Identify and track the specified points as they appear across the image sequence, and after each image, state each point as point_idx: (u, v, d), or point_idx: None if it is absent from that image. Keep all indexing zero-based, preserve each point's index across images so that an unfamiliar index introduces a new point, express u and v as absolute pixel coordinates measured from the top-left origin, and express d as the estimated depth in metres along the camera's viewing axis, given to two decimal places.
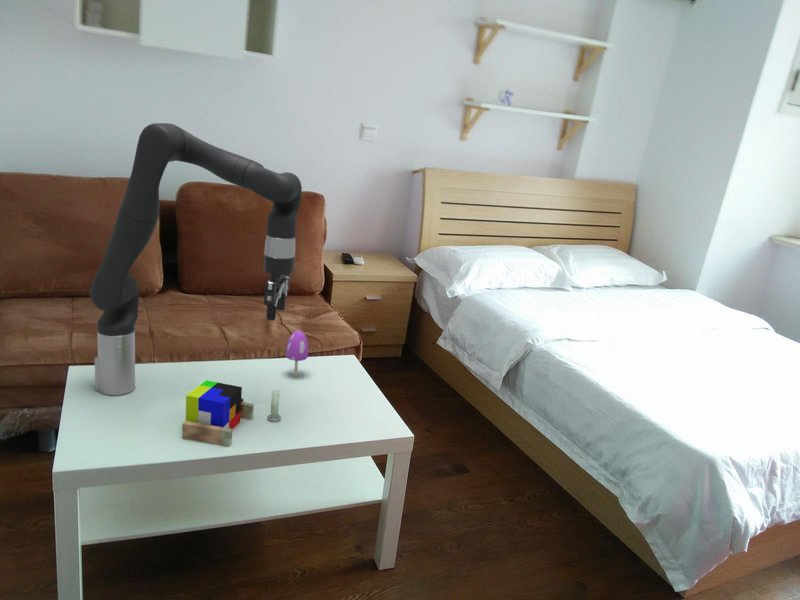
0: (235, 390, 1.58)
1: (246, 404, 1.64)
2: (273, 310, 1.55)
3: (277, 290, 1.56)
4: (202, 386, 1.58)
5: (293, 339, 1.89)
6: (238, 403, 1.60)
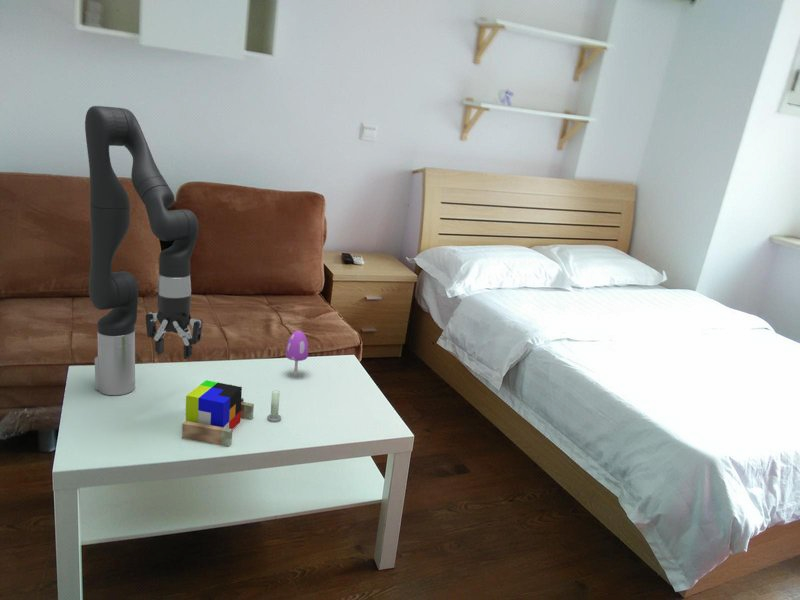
0: (235, 390, 1.58)
1: (246, 404, 1.64)
2: None
3: None
4: (202, 386, 1.58)
5: (293, 339, 1.89)
6: (238, 403, 1.60)
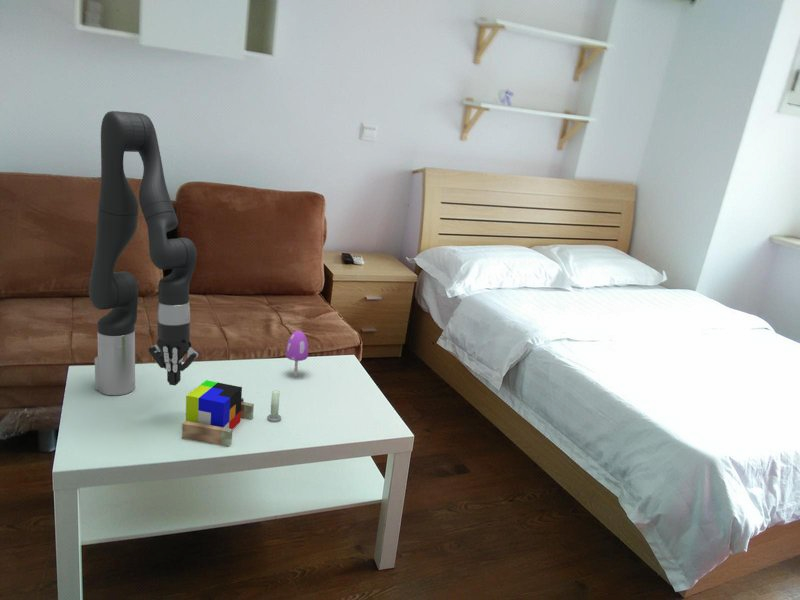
0: (235, 390, 1.58)
1: (246, 404, 1.64)
2: None
3: None
4: (202, 386, 1.58)
5: (293, 339, 1.89)
6: (238, 403, 1.60)
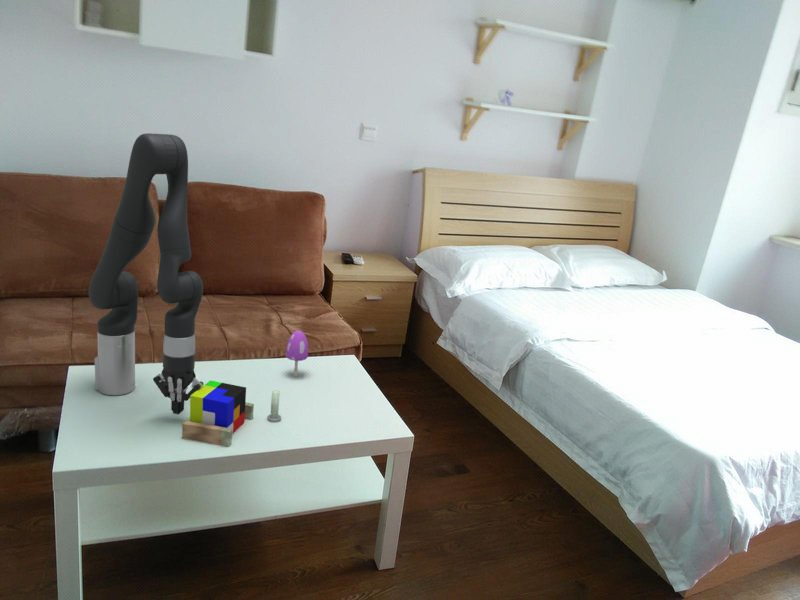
0: (239, 390, 1.58)
1: (246, 404, 1.64)
2: None
3: None
4: (206, 386, 1.58)
5: (293, 339, 1.89)
6: (242, 403, 1.60)
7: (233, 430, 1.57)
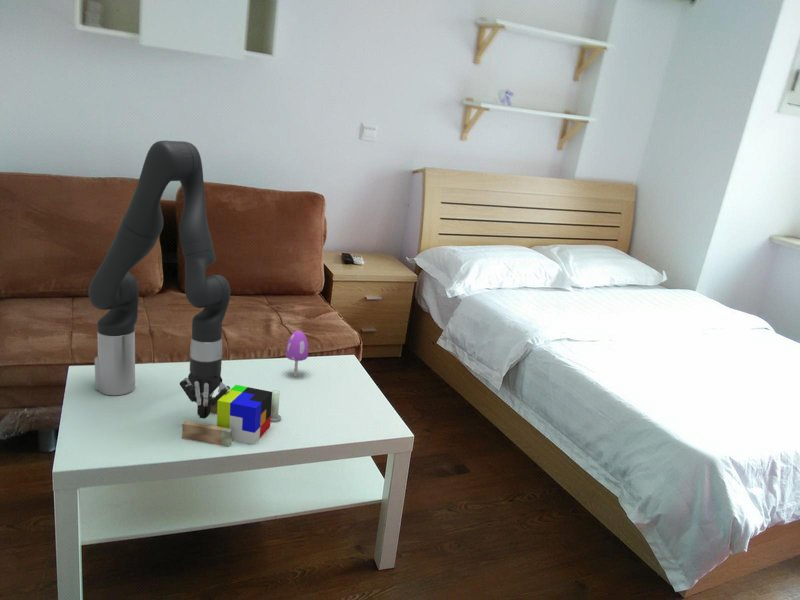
0: (266, 395, 1.57)
1: None
2: None
3: None
4: (233, 391, 1.57)
5: (293, 339, 1.89)
6: (268, 408, 1.59)
7: (260, 435, 1.56)
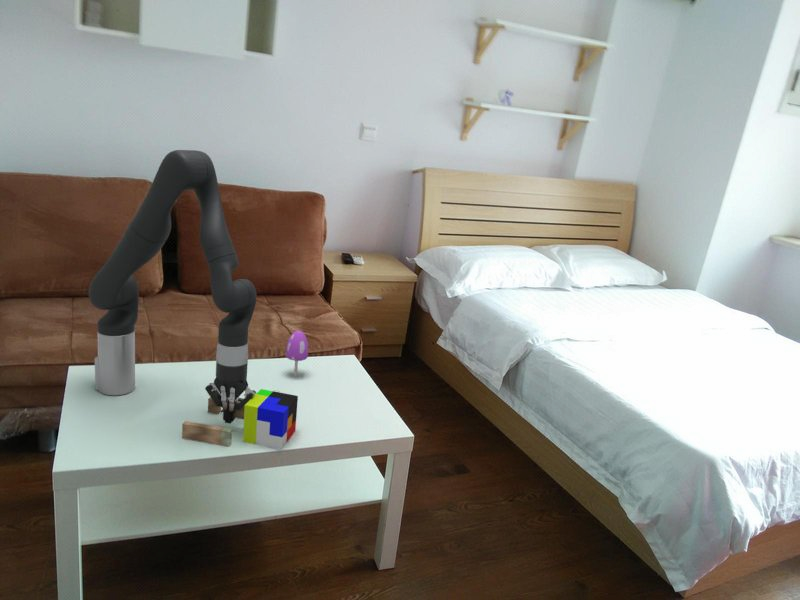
0: (292, 399, 1.57)
1: None
2: None
3: None
4: (258, 395, 1.57)
5: (293, 339, 1.89)
6: (294, 412, 1.59)
7: (286, 439, 1.56)
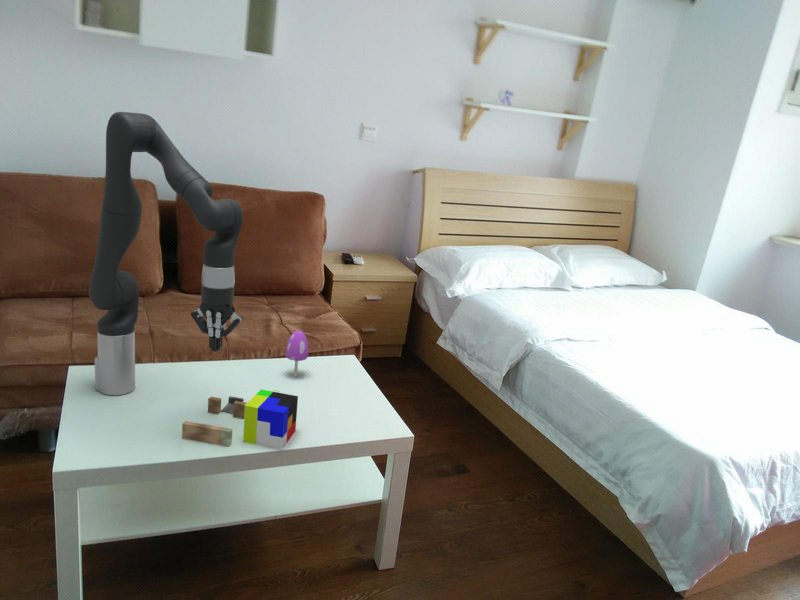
0: (292, 399, 1.57)
1: None
2: None
3: None
4: (258, 395, 1.57)
5: (293, 339, 1.89)
6: (294, 412, 1.59)
7: (287, 439, 1.56)
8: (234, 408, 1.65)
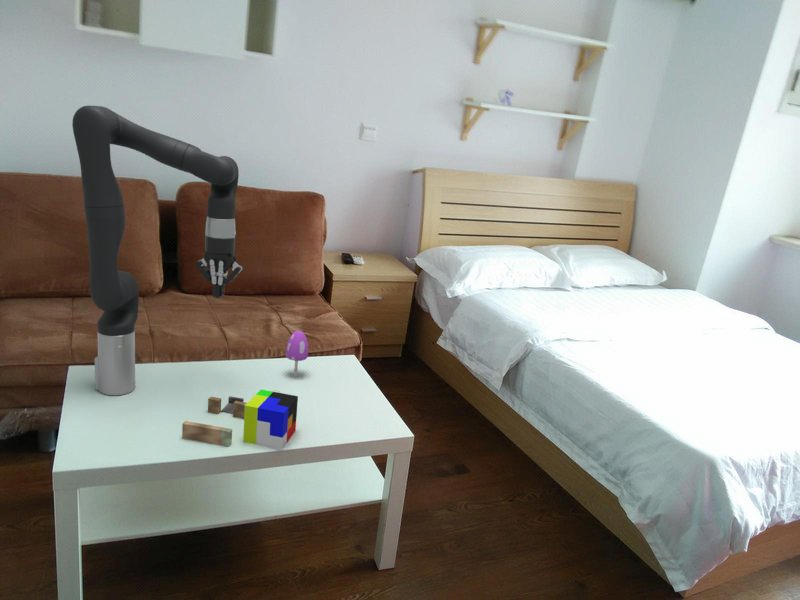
0: (292, 399, 1.57)
1: None
2: None
3: None
4: (259, 395, 1.57)
5: (293, 339, 1.89)
6: (294, 412, 1.59)
7: (287, 439, 1.56)
8: (234, 408, 1.65)
